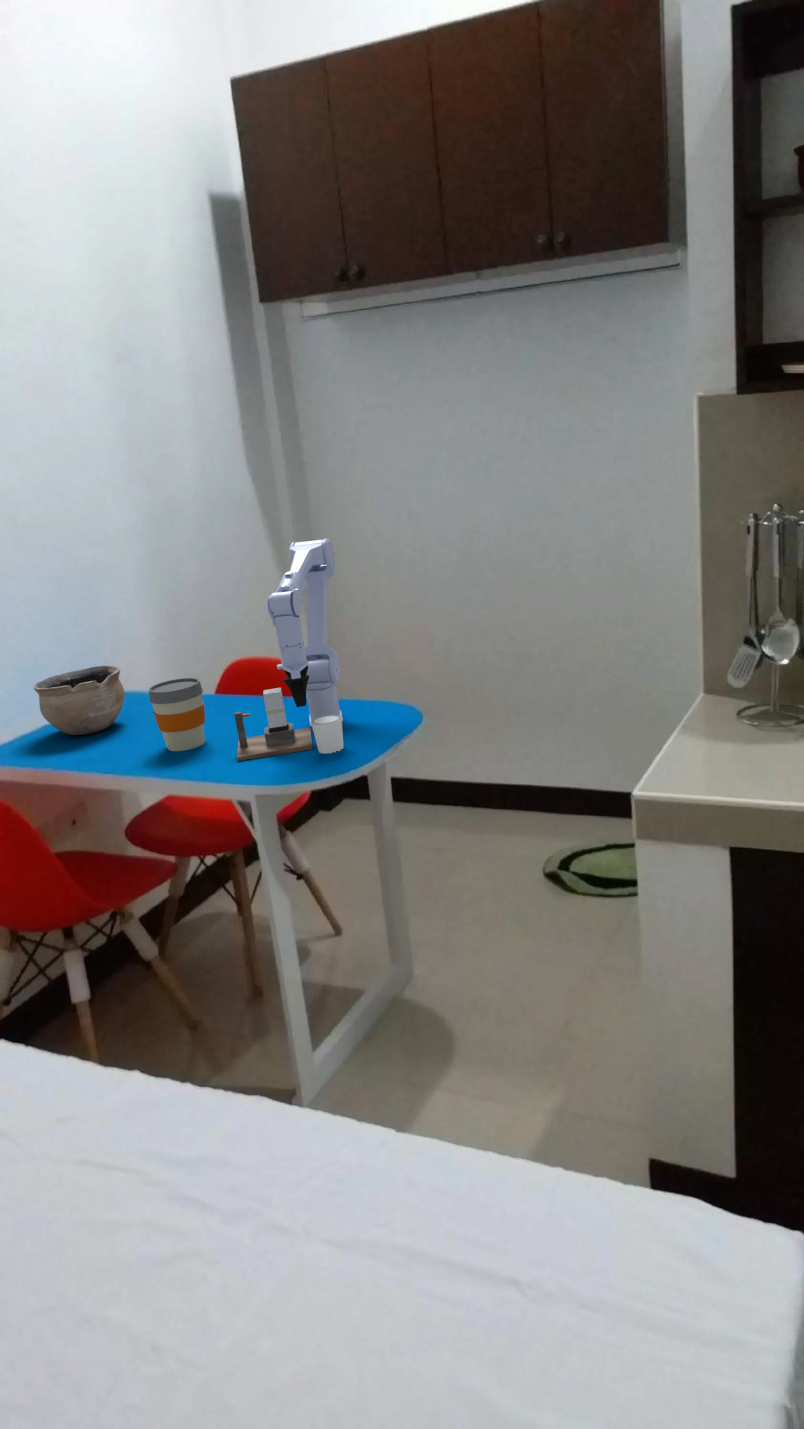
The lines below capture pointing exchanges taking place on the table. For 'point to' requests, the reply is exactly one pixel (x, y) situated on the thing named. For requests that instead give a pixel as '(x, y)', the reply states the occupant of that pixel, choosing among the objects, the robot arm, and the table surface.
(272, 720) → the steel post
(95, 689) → the ceramic bowl
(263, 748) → the stand
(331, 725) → the shot glass
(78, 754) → the table surface
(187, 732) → the reusable coffee cup
